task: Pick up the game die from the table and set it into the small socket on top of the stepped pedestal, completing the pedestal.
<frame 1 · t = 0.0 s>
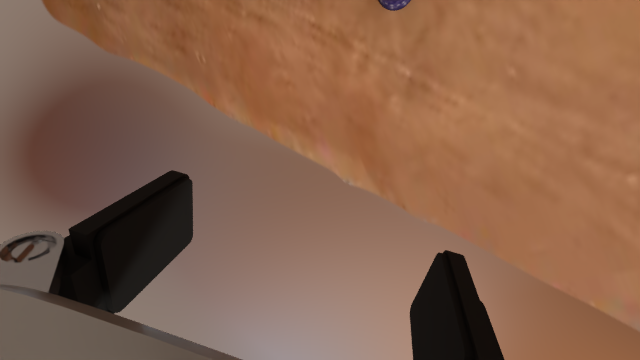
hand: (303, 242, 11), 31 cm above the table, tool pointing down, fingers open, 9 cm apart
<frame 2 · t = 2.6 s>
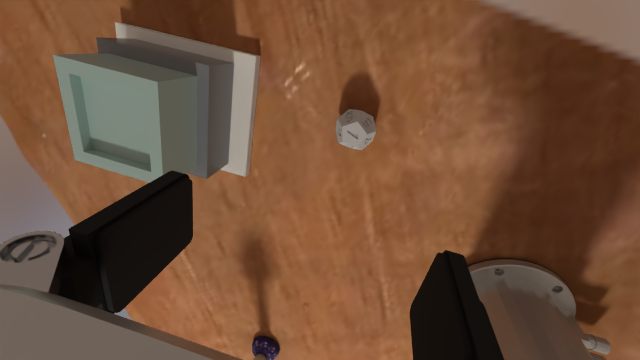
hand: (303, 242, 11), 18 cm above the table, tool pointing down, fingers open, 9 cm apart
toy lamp: (264, 344, 44), on the table
stepped pedestal: (190, 103, 29), on the table
game die: (357, 125, 27), on the table
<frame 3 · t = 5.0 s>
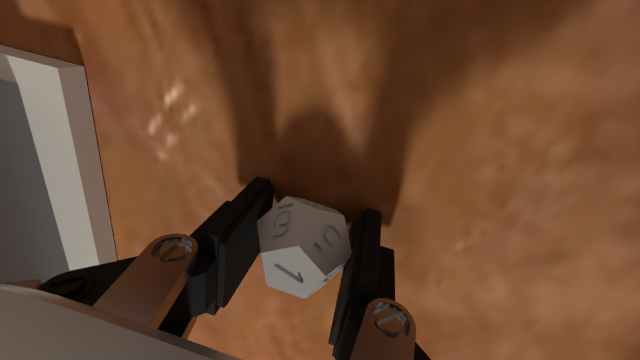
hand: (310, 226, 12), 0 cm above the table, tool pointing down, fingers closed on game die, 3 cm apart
game die: (313, 219, 12), on the table, touching gripper
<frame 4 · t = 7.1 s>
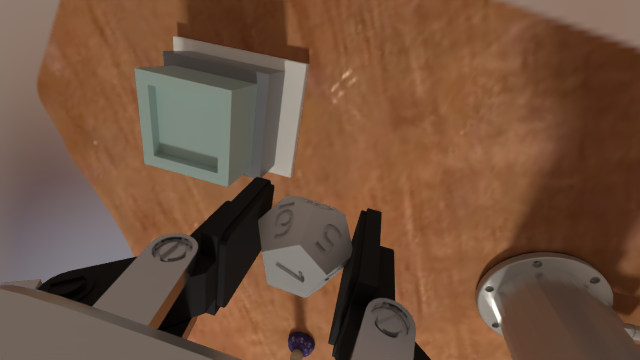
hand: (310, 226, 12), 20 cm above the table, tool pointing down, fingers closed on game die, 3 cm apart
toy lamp: (299, 340, 45), on the table
stepped pedestal: (239, 109, 31), on the table
game die: (314, 218, 12), point 19 cm above the table, touching gripper
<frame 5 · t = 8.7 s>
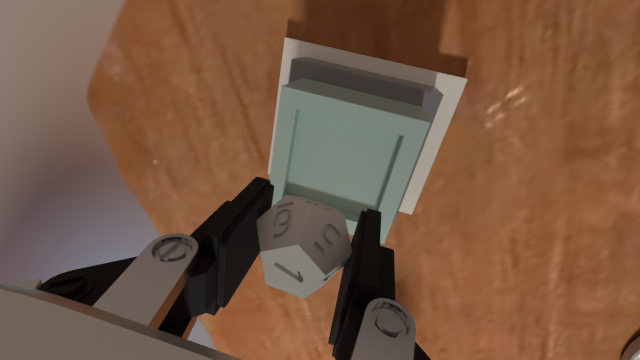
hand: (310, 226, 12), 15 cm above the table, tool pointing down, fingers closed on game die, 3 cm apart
stepped pedestal: (354, 130, 25), on the table
game die: (313, 218, 12), point 15 cm above the table, touching gripper
when the fingers open (11 cm above the table, at t = 9.8 s): game die drops 1 cm, resting on stepped pedestal.
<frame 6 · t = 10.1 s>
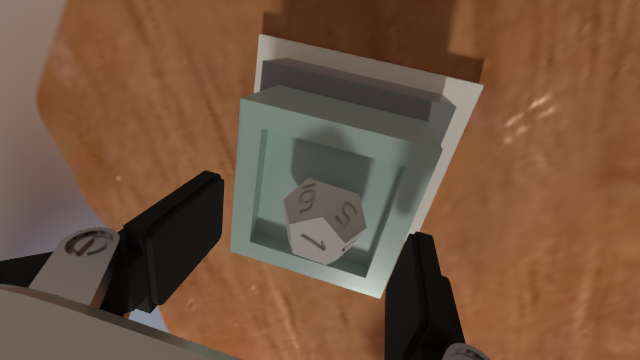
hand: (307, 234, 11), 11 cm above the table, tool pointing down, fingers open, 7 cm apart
stepped pedestal: (345, 144, 21), on the table
game die: (330, 200, 14), point 8 cm above the table, touching stepped pedestal
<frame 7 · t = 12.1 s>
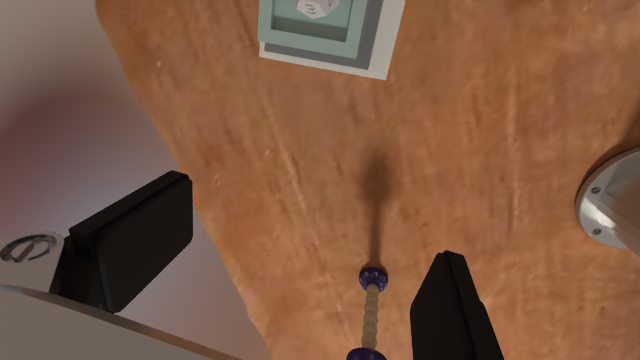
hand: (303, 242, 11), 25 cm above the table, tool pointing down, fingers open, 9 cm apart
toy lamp: (371, 277, 43), on the table
stepped pedestal: (332, 5, 29), on the table
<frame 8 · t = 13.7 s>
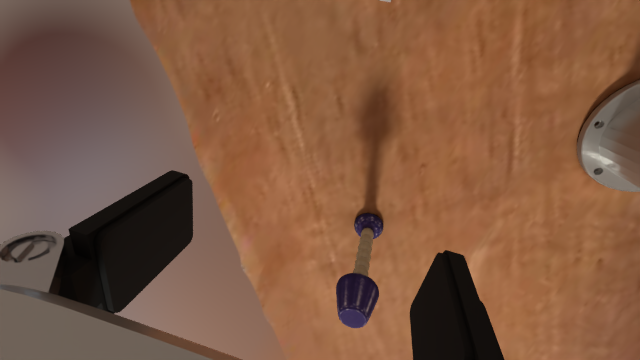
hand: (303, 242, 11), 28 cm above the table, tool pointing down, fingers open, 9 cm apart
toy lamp: (366, 224, 43), on the table
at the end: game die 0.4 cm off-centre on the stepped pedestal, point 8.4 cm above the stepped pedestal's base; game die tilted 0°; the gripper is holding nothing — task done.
